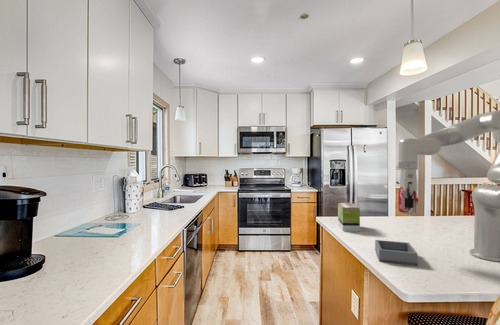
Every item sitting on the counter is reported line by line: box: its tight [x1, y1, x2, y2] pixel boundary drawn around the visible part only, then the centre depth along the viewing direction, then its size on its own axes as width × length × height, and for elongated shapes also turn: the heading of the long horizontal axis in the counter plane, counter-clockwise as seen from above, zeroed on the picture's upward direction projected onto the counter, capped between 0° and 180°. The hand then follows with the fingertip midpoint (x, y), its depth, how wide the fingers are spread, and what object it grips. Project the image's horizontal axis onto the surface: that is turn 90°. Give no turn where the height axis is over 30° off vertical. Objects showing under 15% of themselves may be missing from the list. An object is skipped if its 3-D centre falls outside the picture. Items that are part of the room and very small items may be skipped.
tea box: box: [337, 202, 361, 233], centre depth 161 cm, size 15×10×15 cm, turn 172°
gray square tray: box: [374, 239, 418, 267], centre depth 114 cm, size 14×14×5 cm
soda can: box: [397, 185, 418, 215], centre depth 116 cm, size 7×7×12 cm
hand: (407, 205), depth 116 cm, fingers closed on soda can, 7 cm apart
